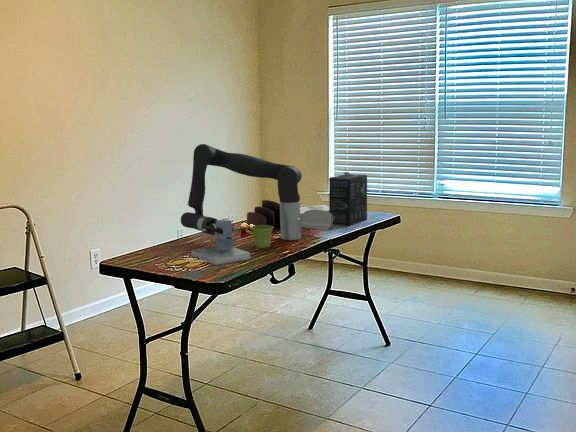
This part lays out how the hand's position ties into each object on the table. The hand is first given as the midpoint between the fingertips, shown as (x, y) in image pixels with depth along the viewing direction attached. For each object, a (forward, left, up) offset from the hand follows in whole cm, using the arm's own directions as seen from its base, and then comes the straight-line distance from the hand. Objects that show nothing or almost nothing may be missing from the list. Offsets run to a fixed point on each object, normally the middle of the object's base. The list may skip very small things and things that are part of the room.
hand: (227, 230), depth 271 cm
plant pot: (-14, -7, -8) cm, 18 cm away
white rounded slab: (-21, -79, -9) cm, 82 cm away
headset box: (-46, -69, -8) cm, 83 cm away
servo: (+2, -2, -7) cm, 7 cm away
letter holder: (-6, -46, -9) cm, 47 cm away
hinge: (-32, -53, -9) cm, 63 cm away
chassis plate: (-1, +14, -8) cm, 16 cm away
